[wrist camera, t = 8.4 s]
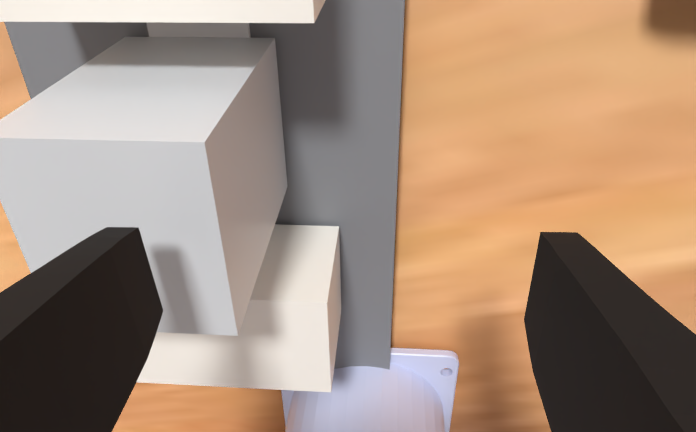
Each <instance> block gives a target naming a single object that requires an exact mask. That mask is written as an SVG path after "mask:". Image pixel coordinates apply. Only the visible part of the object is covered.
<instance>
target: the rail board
mask: <svg viewBox="0 0 696 432" xmlns="http://www.w3.org/2000/svg"><path fill="white" fill-rule="evenodd" d="M404 8H405V0H326V1H325V3H324V5H323V7H322V9H321V11H320V13H319V15H318V17H317V19H316V21H315V23H172V22H4V23H5V25H6V28H7V31H8V34H9V37H10V40H11V43H12V46H13V49H14V51H15V54H16V57H17V60H18V63H19V66H20V69H21V72H22V74H23V77H24V80H25V83H26V86H27V89H28V92H29V95H30V97H31V99H32V98H34V97H35V96H37V95H38V94H40V93H41V92H43V91H44V90H46V89H47V88H49V87H50V86H52V85H53V84H55V83H56V82H58V81H59V80H61V79H62V78H64V77H65V76H67V75H68V74H70V73H71V72H73V71H74V70H76V69H77V68H79V67H80V66H82V65H83V64H85V63H87V62H88V61H90V60H91V59H93V58H94V57H96V56H97V55H99V54H100V53H102V52H103V51H105V50H106V49H108V48H109V47H111V46H112V45H114V44H115V43H117V42H118V41H120V40H121V39H123V38H124V37H231V38H275V44H276V56H277V68H278V80H279V91H280V103H281V115H282V127H283V139H284V150H285V162H286V174H287V190H286V193H285V196H284V199H283V202H282V205H281V208H280V211H279V214H278V217H277V220H276V223H275V224H279V225H311V226H339V242H340V279H341V317H340V325H339V333H338V341H337V349H336V357H335V366H334V369H337V368H344V367H350V366H370V367H378V368H384V369H388V370H390V347H391V323H392V298H393V274H394V250H395V226H396V201H397V177H398V153H399V129H400V105H401V80H402V56H403V32H404ZM236 388H237V387H236ZM255 389H256V388H255ZM274 390H275V389H274Z"/></svg>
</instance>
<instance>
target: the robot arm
mask: <svg viewBox="0 0 696 432" xmlns="http://www.w3.org/2000/svg"><path fill="white" fill-rule="evenodd" d="M162 313H163V308H162V304H161V301H160V298H159V294H158V291H157V288H156V284H155V281H154V278H153V274H152V271H151V268H150V264H149V261H148V257H147V254H146V251H145V247H144V244H143V241H142V237H141V234H140V231H139V227H106V228H104V229H102V230H100V231H98V232H96V233H95V234H93V235H91V236H89V237H88V238H86V239H84V240H83V241H81V242H79V243H78V244H76V245H75V246H73V247H71V248H70V249H68V250H67V251H65V252H63V253H62V254H60V255H59V256H57V257H56V258H54V259H52V260H51V261H49V262H48V263H46V264H45V265H43V266H42V267H40V268H38V269H37V270H35V271H34V272H32V273H31V274H29V275H27V276H26V277H24V278H23V279H21V280H20V281H18V282H16V283H15V284H13V285H12V286H10V287H9V288H7V289H5V290H4V291H2V292H1V293H0V432H112V430H113V428H114V426H115V424H116V422H117V420H118V418H119V416H120V414H121V412H122V410H123V408H124V406H125V404H126V402H127V400H128V398H129V396H130V394H131V392H132V390H133V388H134V386H135V384H136V382H137V379H138V377H139V375H140V373H141V371H142V369H143V367H144V365H145V363H146V361H147V359H148V356H149V353H150V350H151V347H152V344H153V342H154V339H155V336H156V333H157V329H158V326H159V323H160V320H161V317H162ZM524 322H525V328H526V334H527V340H528V346H529V352H530V357H531V363H532V368H533V373H534V376H535V379H536V383H537V386H538V389H539V393H540V396H541V399H542V403H543V406H544V409H545V412H546V416H547V419H548V422H549V425H550V428H551V432H696V334H694V333H693V332H692V331H691V330H689V329H688V328H687V327H686V326H684V325H683V324H682V323H681V322H679V321H678V320H677V319H676V318H675V317H673V316H672V315H671V314H670V313H668V312H667V311H666V310H665V309H664V308H662V307H661V306H660V305H659V304H658V303H657V302H655V301H654V300H653V299H652V298H651V297H650V296H648V295H647V294H646V293H645V292H644V291H643V290H642V289H640V288H639V287H638V286H637V285H636V284H635V283H634V282H632V281H631V280H630V279H629V278H628V277H627V276H626V275H625V274H623V273H622V272H621V271H620V270H619V269H618V268H617V267H616V266H615V265H613V264H612V263H611V262H610V261H609V260H608V259H607V258H606V257H605V256H603V255H602V254H601V253H600V252H599V251H598V250H597V249H596V248H595V247H593V246H592V245H591V244H590V243H589V242H588V241H587V240H585V239H584V238H583V237H582V236H581V235H580V234H578V233H570V232H541V233H540V238H539V243H538V249H537V254H536V259H535V265H534V270H533V275H532V281H531V286H530V291H529V296H528V302H527V307H526V312H525V318H524ZM444 368H449V369H444ZM458 368H459V360H458V355H457V354H456V353H455V352H453V351H449V350H430V349H409V348H390V370H388V369H384V368H378V367H370V366H350V367H344V368H337V369H334V374H333V382H332V390H331V392H313V391H294V390H281V393H282V401H283V409H284V418H285V426H286V429H285V432H449V431H450V424H451V417H452V410H453V403H454V396H455V389H456V382H457V375H458Z"/></svg>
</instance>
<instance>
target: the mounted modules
mask: <svg viewBox="0 0 696 432" xmlns="http://www.w3.org/2000/svg"><path fill="white" fill-rule="evenodd" d="M325 1H326V0H0V22H172V23H315V21H316V19H317V17H318V15H319V13H320V11H321V9H322V7H323V5H324V3H325ZM340 317H341V279H340V242H339V226H311V225H279V224H275V226H274V229H273V232H272V235H271V238H270V241H269V244H268V247H267V250H266V253H265V256H264V259H263V262H262V265H261V268H260V271H259V274H258V277H257V280H256V283H255V286H254V289H253V292H252V295H251V298H250V301H249V304H248V307H247V310H246V313H245V316H244V319H243V322H242V325H241V328H240V331H239V334H238V336H229V335H207V334H186V333H164V332H157V333H156V336H155V339H154V342H153V344H152V347H151V350H150V353H149V356H148V359H147V361H146V363H145V365H144V367H143V369H142V371H141V373H140V375H139V377H138V379H137V382H142V383H161V384H180V385H199V386H218V387H237V388H256V389H275V390H294V391H313V392H331V390H332V382H333V374H334V366H335V357H336V349H337V341H338V333H339V325H340Z"/></svg>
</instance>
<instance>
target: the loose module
mask: <svg viewBox="0 0 696 432" xmlns="http://www.w3.org/2000/svg"><path fill="white" fill-rule="evenodd" d="M286 190H287V174H286V162H285V150H284V139H283V127H282V115H281V103H280V91H279V80H278V68H277V56H276V44H275V38H231V37H124V38H123V39H121V40H120V41H118V42H117V43H115V44H114V45H112V46H111V47H109V48H108V49H106V50H105V51H103V52H102V53H100V54H99V55H97V56H96V57H94V58H93V59H91V60H90V61H88V62H87V63H85V64H83V65H82V66H80V67H79V68H77V69H76V70H74V71H73V72H71V73H70V74H68V75H67V76H65V77H64V78H62V79H61V80H59V81H58V82H56V83H55V84H53V85H52V86H50V87H49V88H47V89H46V90H44V91H43V92H41V93H40V94H38V95H37V96H35V97H34V98H32V99H31V100H29V101H28V102H26V103H25V104H23V105H22V106H20V107H19V108H17V109H16V110H14V111H13V112H11V113H10V114H8V115H7V116H5V117H3V118H2V119H0V201H1V203H2V206H3V208H4V210H5V213H6V215H7V218H8V220H9V222H10V225H11V227H12V229H13V232H14V234H15V236H16V239H17V241H18V243H19V246H20V248H21V251H22V253H23V255H24V258H25V260H26V262H27V265H28V267H29V269H30V272H31V273H32V272H34V271H35V270H37V269H38V268H40V267H42V266H43V265H45V264H46V263H48V262H49V261H51V260H52V259H54V258H56V257H57V256H59V255H60V254H62V253H63V252H65V251H67V250H68V249H70V248H71V247H73V246H75V245H76V244H78V243H79V242H81V241H83V240H84V239H86V238H88V237H89V236H91V235H93V234H95V233H96V232H98V231H100V230H102V229H104V228H106V227H139V231H140V234H141V237H142V241H143V244H144V247H145V251H146V254H147V257H148V261H149V264H150V268H151V271H152V274H153V278H154V281H155V284H156V288H157V291H158V294H159V298H160V301H161V304H162V308H163V313H162V317H161V320H160V323H159V326H158V329H157V332H164V333H186V334H207V335H229V336H238V334H239V331H240V328H241V325H242V322H243V319H244V316H245V313H246V310H247V307H248V304H249V301H250V298H251V295H252V292H253V289H254V286H255V283H256V280H257V277H258V274H259V271H260V268H261V265H262V262H263V259H264V256H265V253H266V250H267V247H268V244H269V241H270V238H271V235H272V232H273V229H274V226H275V223H276V220H277V217H278V214H279V211H280V208H281V205H282V202H283V199H284V196H285V193H286Z"/></svg>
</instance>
